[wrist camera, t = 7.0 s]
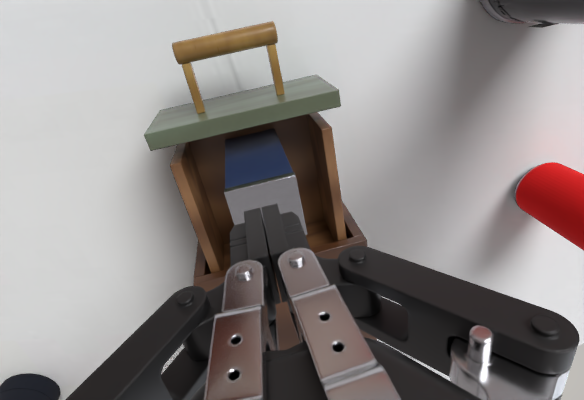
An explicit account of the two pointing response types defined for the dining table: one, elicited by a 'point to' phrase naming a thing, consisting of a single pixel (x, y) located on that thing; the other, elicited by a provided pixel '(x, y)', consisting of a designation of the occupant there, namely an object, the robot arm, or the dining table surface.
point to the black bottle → (29, 388)
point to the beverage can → (554, 199)
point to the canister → (259, 176)
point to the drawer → (241, 121)
